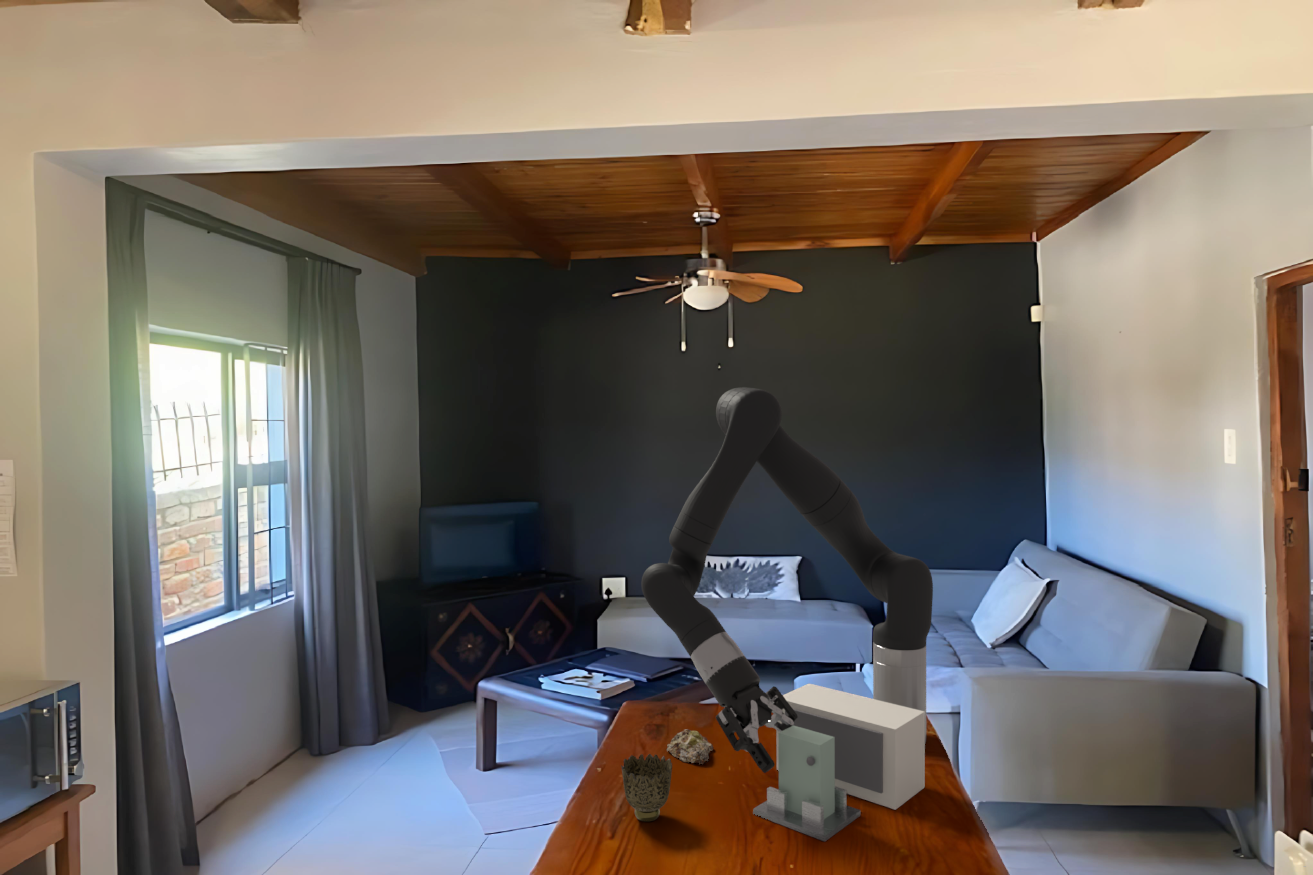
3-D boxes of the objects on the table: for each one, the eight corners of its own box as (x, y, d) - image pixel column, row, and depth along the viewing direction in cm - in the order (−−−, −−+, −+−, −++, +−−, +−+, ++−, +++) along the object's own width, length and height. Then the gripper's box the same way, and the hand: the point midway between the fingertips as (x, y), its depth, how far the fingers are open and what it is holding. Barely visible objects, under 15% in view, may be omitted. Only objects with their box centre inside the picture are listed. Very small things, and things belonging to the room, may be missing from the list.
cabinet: (809, 751, 145) (808, 683, 145) (924, 787, 131) (924, 711, 131) (774, 771, 137) (774, 698, 137) (893, 811, 123) (893, 730, 123)
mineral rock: (658, 732, 149) (700, 716, 151) (665, 754, 150) (706, 738, 151) (673, 758, 139) (717, 741, 140) (680, 782, 139) (724, 764, 141)
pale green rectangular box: (793, 797, 126) (793, 725, 126) (834, 812, 122) (834, 737, 121) (774, 809, 122) (774, 734, 122) (816, 824, 118) (816, 747, 118)
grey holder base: (790, 791, 130) (790, 767, 130) (860, 815, 122) (860, 789, 122) (753, 814, 123) (753, 788, 123) (824, 841, 115) (824, 814, 115)
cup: (667, 832, 118) (667, 776, 117) (616, 827, 119) (616, 772, 119) (676, 808, 125) (676, 755, 125) (628, 803, 126) (628, 751, 126)
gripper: (709, 665, 125) (774, 762, 117) (764, 645, 135) (826, 733, 128) (682, 693, 128) (743, 789, 121) (737, 671, 139) (796, 758, 132)
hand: (786, 760), depth 124 cm, fingers open, 8 cm apart
